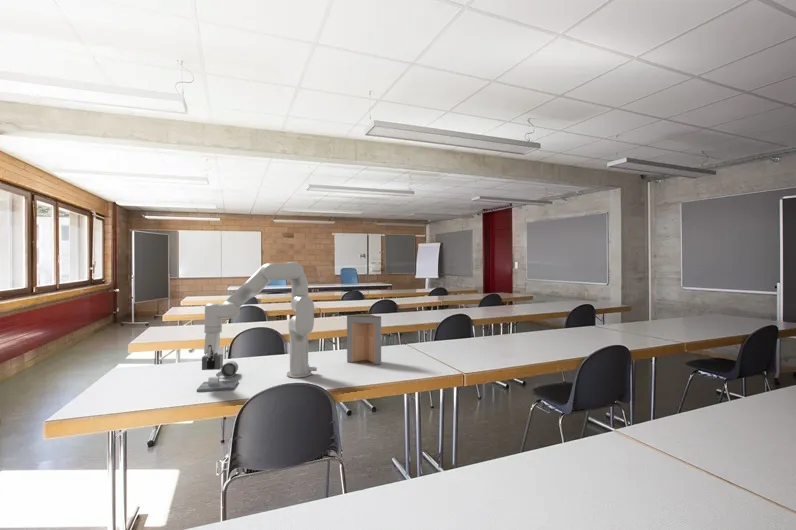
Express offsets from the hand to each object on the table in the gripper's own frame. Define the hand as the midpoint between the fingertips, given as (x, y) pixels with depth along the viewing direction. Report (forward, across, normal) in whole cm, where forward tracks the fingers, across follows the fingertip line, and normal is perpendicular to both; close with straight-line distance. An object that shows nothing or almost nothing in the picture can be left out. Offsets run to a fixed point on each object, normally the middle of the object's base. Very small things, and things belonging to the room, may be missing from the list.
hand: (212, 366), depth 196 cm
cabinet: (+8, -35, +78) cm, 86 cm away
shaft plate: (+10, 0, +3) cm, 10 cm away
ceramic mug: (+10, -19, +3) cm, 22 cm away
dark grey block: (+1, 0, 0) cm, 1 cm away
